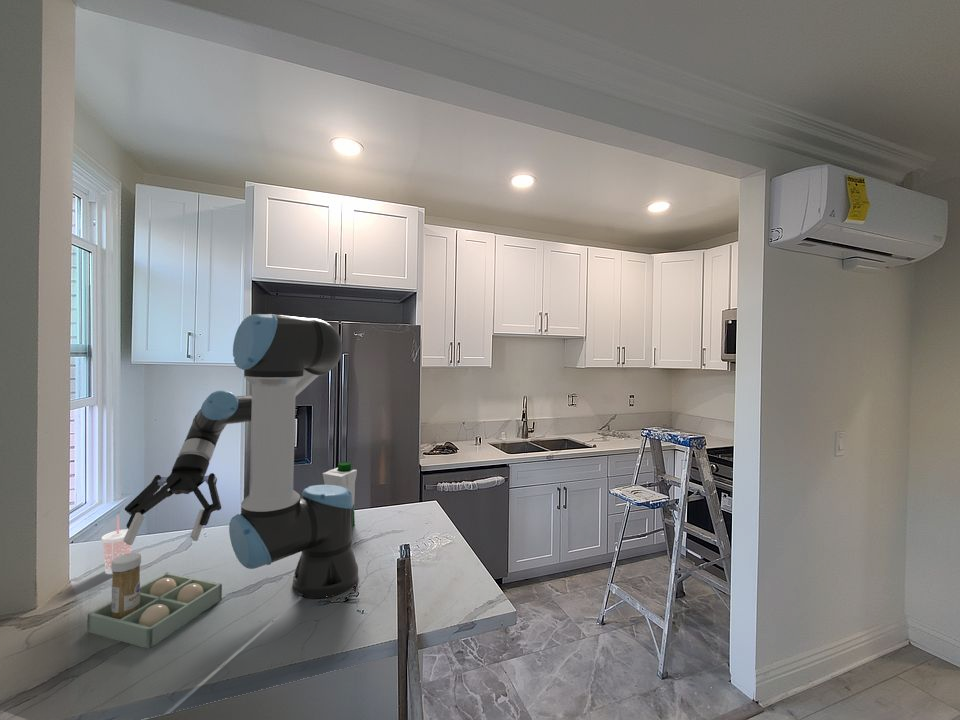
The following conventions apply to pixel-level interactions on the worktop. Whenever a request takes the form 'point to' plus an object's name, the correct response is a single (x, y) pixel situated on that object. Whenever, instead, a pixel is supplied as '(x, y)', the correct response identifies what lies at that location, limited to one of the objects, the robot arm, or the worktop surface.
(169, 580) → the egg
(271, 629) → the worktop surface
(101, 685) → the worktop surface
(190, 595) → the egg
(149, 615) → the egg
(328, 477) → the milk carton
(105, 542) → the beverage cup
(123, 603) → the sprinkles bottle
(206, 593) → the carton
